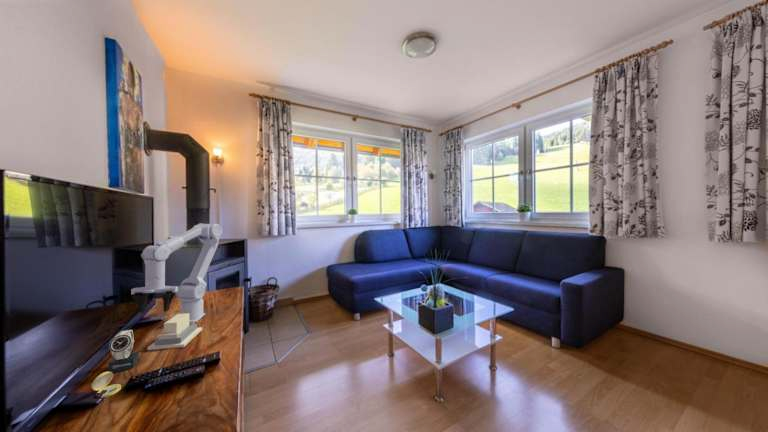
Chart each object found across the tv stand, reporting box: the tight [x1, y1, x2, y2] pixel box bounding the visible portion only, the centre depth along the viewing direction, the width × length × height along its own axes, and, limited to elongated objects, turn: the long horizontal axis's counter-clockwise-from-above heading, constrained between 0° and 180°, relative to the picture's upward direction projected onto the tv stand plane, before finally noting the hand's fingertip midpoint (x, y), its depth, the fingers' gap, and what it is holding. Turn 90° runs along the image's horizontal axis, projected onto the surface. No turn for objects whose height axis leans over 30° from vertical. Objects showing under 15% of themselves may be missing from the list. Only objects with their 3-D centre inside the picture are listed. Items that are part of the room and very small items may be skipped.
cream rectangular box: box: [163, 313, 189, 335], centre depth 97 cm, size 9×4×5 cm, turn 13°
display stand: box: [147, 320, 203, 351], centre depth 97 cm, size 14×11×4 cm
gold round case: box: [90, 371, 122, 398], centre depth 69 cm, size 4×5×5 cm
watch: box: [107, 329, 140, 374], centre depth 79 cm, size 6×8×11 cm
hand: (154, 311), depth 100 cm, fingers open, 7 cm apart
